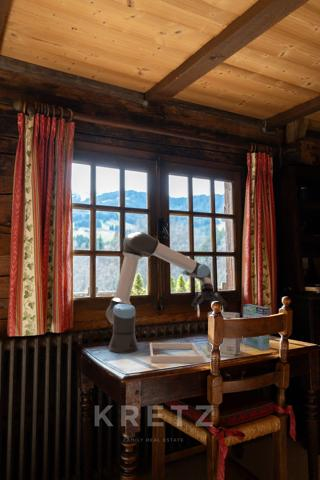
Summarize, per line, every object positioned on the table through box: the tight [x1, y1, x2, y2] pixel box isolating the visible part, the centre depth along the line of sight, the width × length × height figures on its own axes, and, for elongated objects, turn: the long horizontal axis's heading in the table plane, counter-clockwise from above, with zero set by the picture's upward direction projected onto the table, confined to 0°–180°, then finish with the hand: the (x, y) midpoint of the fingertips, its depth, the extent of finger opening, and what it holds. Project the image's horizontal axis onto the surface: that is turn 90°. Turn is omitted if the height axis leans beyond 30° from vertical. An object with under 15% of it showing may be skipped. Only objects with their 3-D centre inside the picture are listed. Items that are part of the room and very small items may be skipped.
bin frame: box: [149, 342, 203, 364], centre depth 183 cm, size 24×28×3 cm
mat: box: [200, 345, 236, 358], centre depth 190 cm, size 14×20×1 cm
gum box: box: [242, 303, 271, 351], centre depth 205 cm, size 20×5×23 cm, turn 20°
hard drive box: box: [207, 311, 241, 355], centre depth 188 cm, size 16×8×20 cm, turn 61°
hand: (210, 315), depth 203 cm, fingers open, 13 cm apart
